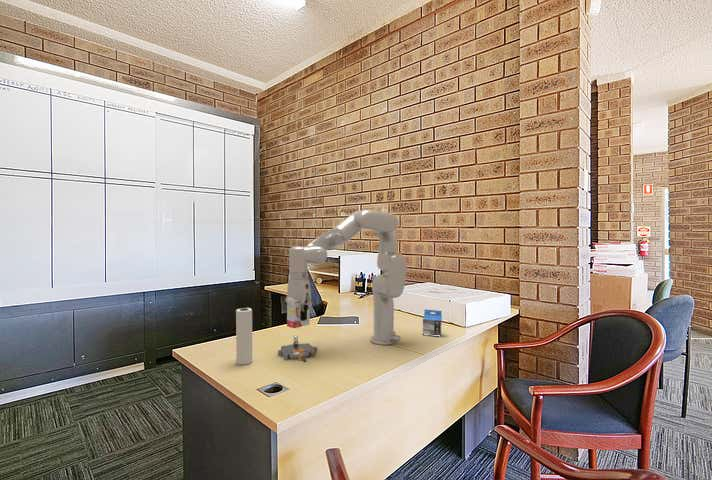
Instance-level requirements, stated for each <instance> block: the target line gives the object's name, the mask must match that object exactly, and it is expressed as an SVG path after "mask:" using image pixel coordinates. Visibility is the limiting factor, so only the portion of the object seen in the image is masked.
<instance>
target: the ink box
mask: <svg viewBox="0 0 712 480" xmlns="http://www.w3.org/2000/svg"><path fill="white" fill-rule="evenodd" d="M307 304H308V303H307ZM286 306H287V307H286V311H287V312H286V327H289V328H292V329H298V328H301V327H305V326H310V325H311V324H310V322H311V321H310V320H311V318H310V313H311V312H310V311H311V310H310V308H311V307H310V308H309V309H308V310H307V320H304V321H301V311H302V309H301V305H300V304H299V301H298V299H293V298H288V299H287V302H286ZM304 307H305V305H304Z"/></svg>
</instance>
